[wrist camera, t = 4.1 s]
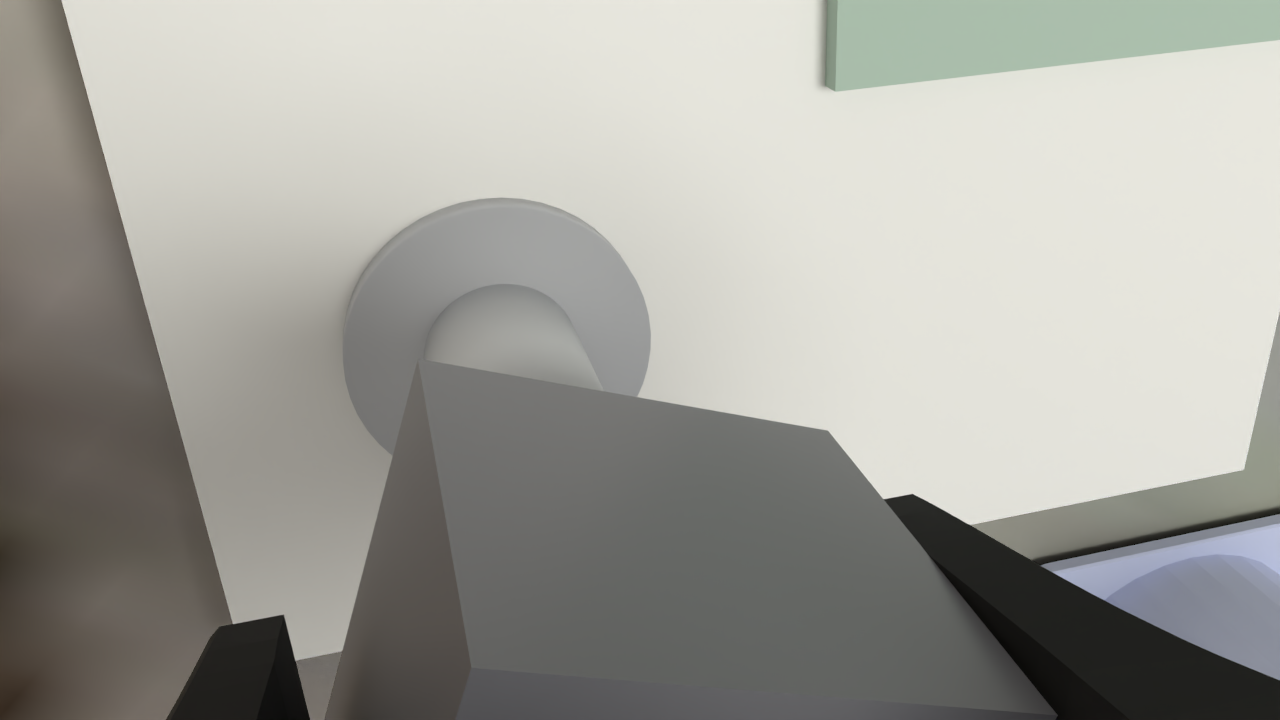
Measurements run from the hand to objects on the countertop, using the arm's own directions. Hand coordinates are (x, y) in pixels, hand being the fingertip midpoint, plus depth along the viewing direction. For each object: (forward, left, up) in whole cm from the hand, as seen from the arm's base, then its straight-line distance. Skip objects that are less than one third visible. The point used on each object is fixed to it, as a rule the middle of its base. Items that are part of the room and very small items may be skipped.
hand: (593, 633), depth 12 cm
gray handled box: (0, 0, -1) cm, 1 cm away
